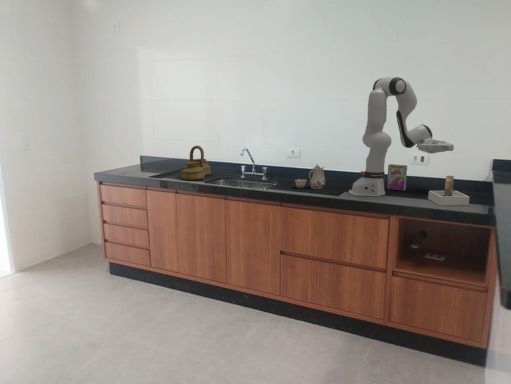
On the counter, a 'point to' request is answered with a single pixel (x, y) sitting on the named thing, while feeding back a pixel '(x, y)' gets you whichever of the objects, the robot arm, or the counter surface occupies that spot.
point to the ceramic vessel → (196, 167)
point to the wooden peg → (449, 185)
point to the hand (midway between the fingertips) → (440, 148)
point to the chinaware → (313, 179)
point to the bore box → (448, 198)
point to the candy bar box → (397, 177)
